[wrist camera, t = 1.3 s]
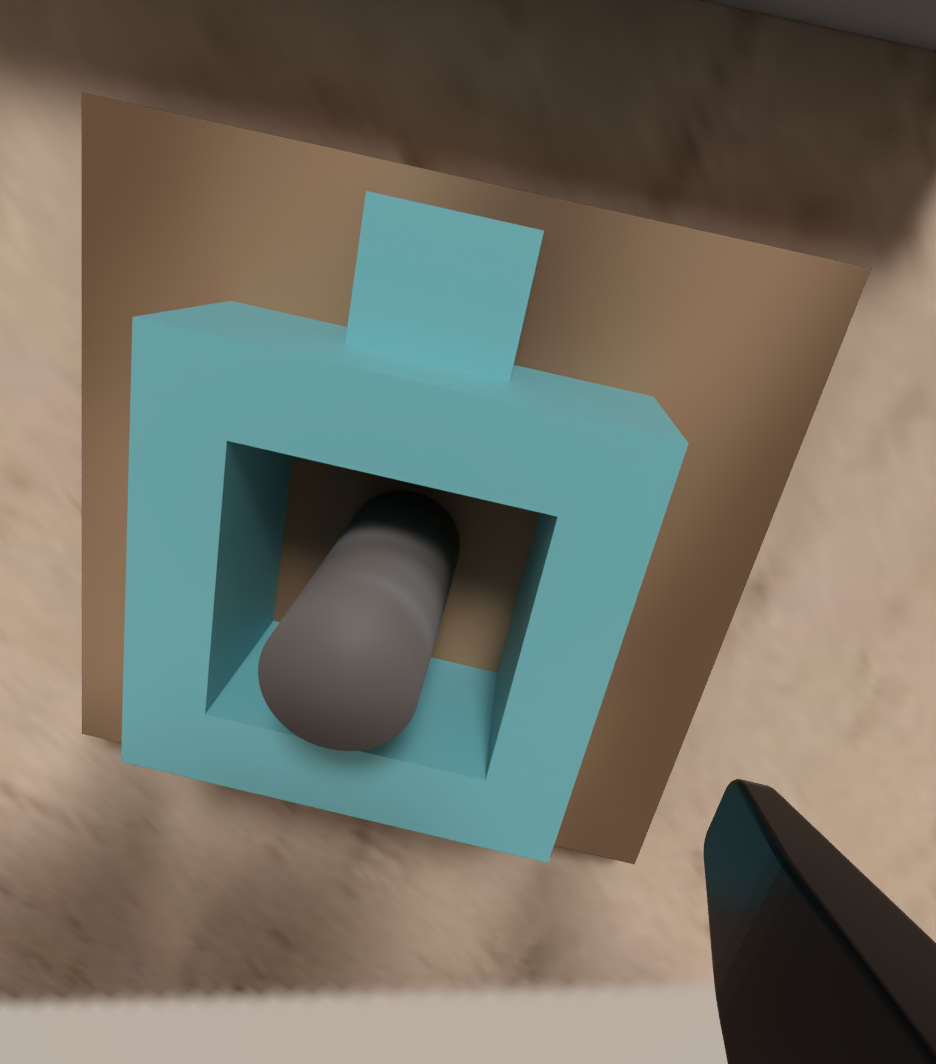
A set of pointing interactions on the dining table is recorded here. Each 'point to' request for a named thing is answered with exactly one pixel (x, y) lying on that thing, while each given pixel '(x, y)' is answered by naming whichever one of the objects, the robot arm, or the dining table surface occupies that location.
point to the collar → (403, 454)
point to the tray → (857, 17)
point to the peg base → (432, 514)
